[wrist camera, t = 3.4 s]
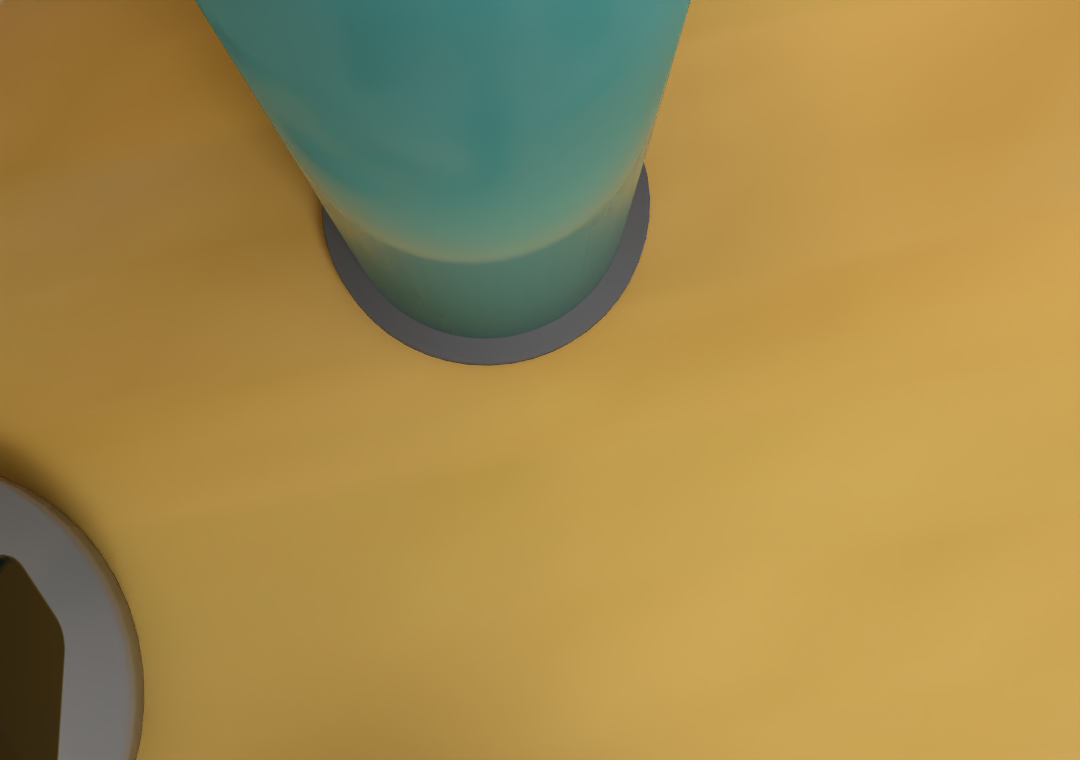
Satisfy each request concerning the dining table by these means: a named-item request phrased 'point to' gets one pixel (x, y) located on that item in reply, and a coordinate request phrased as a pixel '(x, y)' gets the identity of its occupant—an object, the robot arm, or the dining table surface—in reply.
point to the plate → (80, 627)
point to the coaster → (504, 347)
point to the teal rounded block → (465, 138)
